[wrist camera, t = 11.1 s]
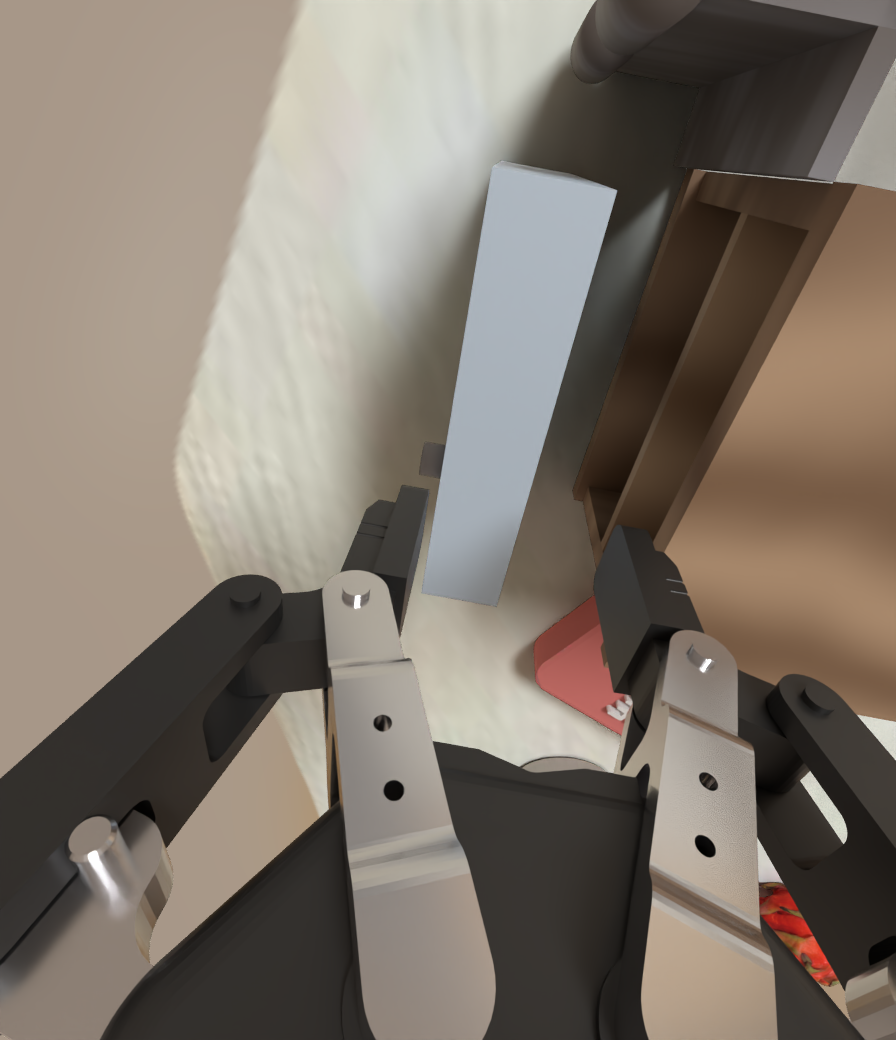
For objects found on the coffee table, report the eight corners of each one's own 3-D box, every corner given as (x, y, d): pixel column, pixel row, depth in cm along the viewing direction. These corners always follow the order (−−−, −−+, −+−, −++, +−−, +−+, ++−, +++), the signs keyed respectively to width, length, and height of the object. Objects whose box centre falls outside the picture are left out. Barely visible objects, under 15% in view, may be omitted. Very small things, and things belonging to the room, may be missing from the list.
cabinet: (803, 534, 31) (954, 732, 20) (476, 472, 31) (457, 640, 20) (1097, 121, 19) (1797, 85, 9) (576, 18, 19) (654, -145, 9)
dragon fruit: (824, 892, 60) (728, 850, 60) (892, 925, 52) (781, 876, 52) (813, 977, 57) (712, 932, 57) (883, 1025, 49) (766, 973, 49)
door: (570, 173, 22) (617, 190, 12) (501, 459, 30) (496, 606, 20) (473, 155, 22) (442, 157, 12) (430, 446, 30) (391, 587, 20)
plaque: (884, 702, 34) (692, 784, 41) (853, 655, 37) (680, 740, 44) (701, 562, 29) (522, 685, 36) (683, 522, 32) (521, 643, 40)
